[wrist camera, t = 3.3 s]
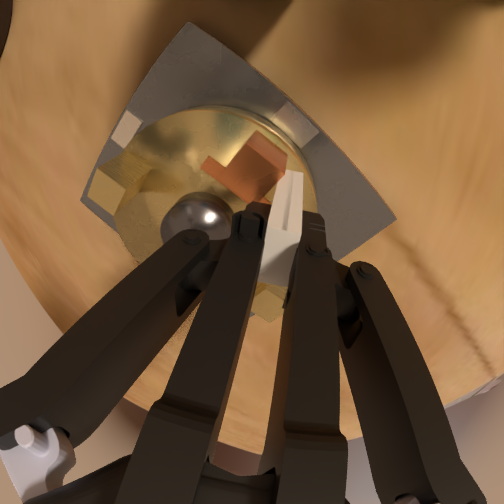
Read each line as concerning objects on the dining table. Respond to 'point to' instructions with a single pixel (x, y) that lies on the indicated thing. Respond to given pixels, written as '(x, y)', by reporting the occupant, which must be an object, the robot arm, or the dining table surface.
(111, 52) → the dining table surface
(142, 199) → the notched brass disc
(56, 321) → the dining table surface
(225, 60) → the spindle plate
